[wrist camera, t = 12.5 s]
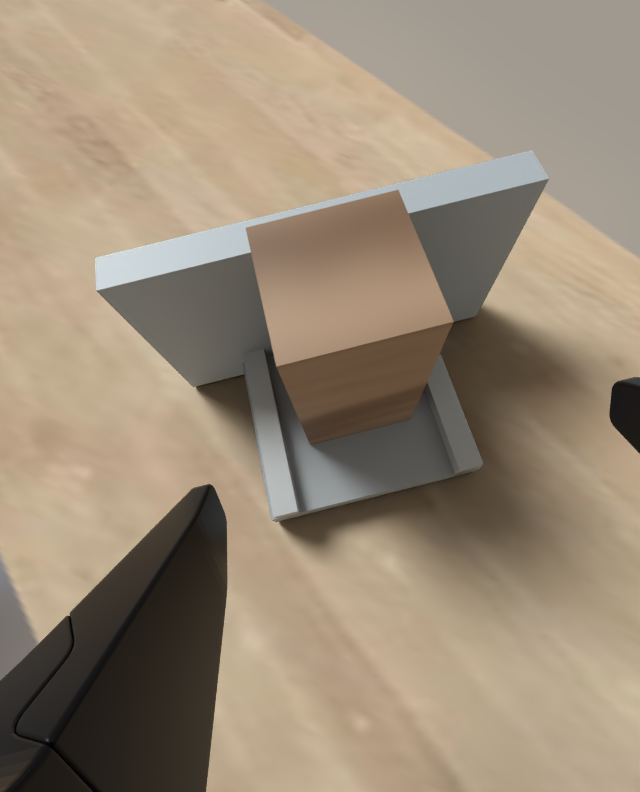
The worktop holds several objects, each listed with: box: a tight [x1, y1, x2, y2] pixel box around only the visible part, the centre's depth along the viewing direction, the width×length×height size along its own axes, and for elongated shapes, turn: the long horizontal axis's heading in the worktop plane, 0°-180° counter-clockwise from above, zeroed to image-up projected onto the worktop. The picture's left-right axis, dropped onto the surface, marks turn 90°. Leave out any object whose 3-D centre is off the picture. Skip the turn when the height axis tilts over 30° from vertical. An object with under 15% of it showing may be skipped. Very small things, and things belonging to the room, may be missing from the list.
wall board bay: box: [95, 150, 549, 522], centre depth 19 cm, size 11×18×10 cm, turn 103°
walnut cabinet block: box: [246, 190, 454, 445], centre depth 18 cm, size 6×6×10 cm
